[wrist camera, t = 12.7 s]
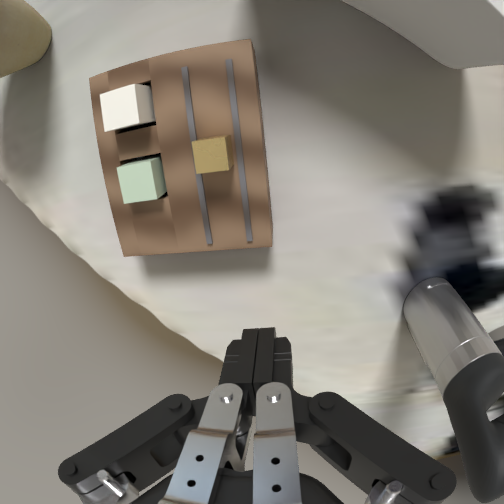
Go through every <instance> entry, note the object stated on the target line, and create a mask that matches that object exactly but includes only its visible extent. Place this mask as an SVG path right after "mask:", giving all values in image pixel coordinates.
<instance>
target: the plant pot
mask: <svg viewBox="0 0 504 504" xmlns="http://www.w3.org/2000/svg"><path fill="white" fill-rule="evenodd" d="M51 35H52V31H51V27H50V25H49V24H48V23H47V21H46V20H45V19H44V18H43V17H42V16H41V15H40V14H39V13H38V12H37V11H36V10H35V9H34V8H33V7H32V6H30V5H29V4H28V3H27V2H25V1H24V0H0V78H1V77H4V76H6V75H9V74H11V73H14V72H16V71H19V70H21V69H23V68H26V67H28V66H30V65H32V64H34V63H36V62H37V61H39V60H40V59H41V58H42V56H43V55H44V54H45V52H46V51H47V49H48V47H49V44H50V41H51Z"/></svg>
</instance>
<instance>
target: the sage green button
mask: <svg viewBox="0 0 504 504" xmlns="http://www.w3.org/2000/svg"><path fill="white" fill-rule="evenodd" d="M117 173H118V178H119V183H120V188H121V192H122V197H123V201H124V204H127V203H133V202H140V201H147V200H155V199H158V198H159V197H161V196H162V195H163V194H164V193H166V192H167V187H166V182H165V176H164V170H163V164H162V158H161V155H158V156H152V157H147V158H142V159H137V160H134V161H131V162H129V163H127V164H124V165H122V166H119V167H117Z"/></svg>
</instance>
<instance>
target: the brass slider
mask: <svg viewBox="0 0 504 504" xmlns="http://www.w3.org/2000/svg"><path fill="white" fill-rule="evenodd" d="M192 148H193V155H194V162H195V169H196V174H200V173H208V172H217V171H226V170H230V168H231V167H232V166H233V165H234V160H233V151H232V143H231V135H222V136H215V137H207V138H201V139H198V140H195V141H192Z"/></svg>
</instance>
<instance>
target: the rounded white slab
mask: <svg viewBox="0 0 504 504" xmlns="http://www.w3.org/2000/svg"><path fill="white" fill-rule="evenodd" d="M341 1H343V2H345V3H347V4H349V5H351V6H352V7H354V8H356V9H358V10H360V11H362V12H364V13H365V14H367V15H369V16H371V17H372V18H374V19H376V20H378V21H379V22H381V23H383V24H384V25H386V26H387V27H389V28H391V29H392V30H394V31H395V32H397V33H398V34H400V35H401V36H403V37H404V38H406V39H407V40H409V41H410V42H412V43H413V44H414V45H416V46H417V47H419V48H420V49H421V50H423V51H424V52H425V53H427V54H428V55H429V56H431V57H432V58H433V59H435V60H436V61H438V62H439V63H441V64H443V65H445V66H447V67H450V68H453V69H464V68H473V67H482V66H493V65H504V0H341Z"/></svg>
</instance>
